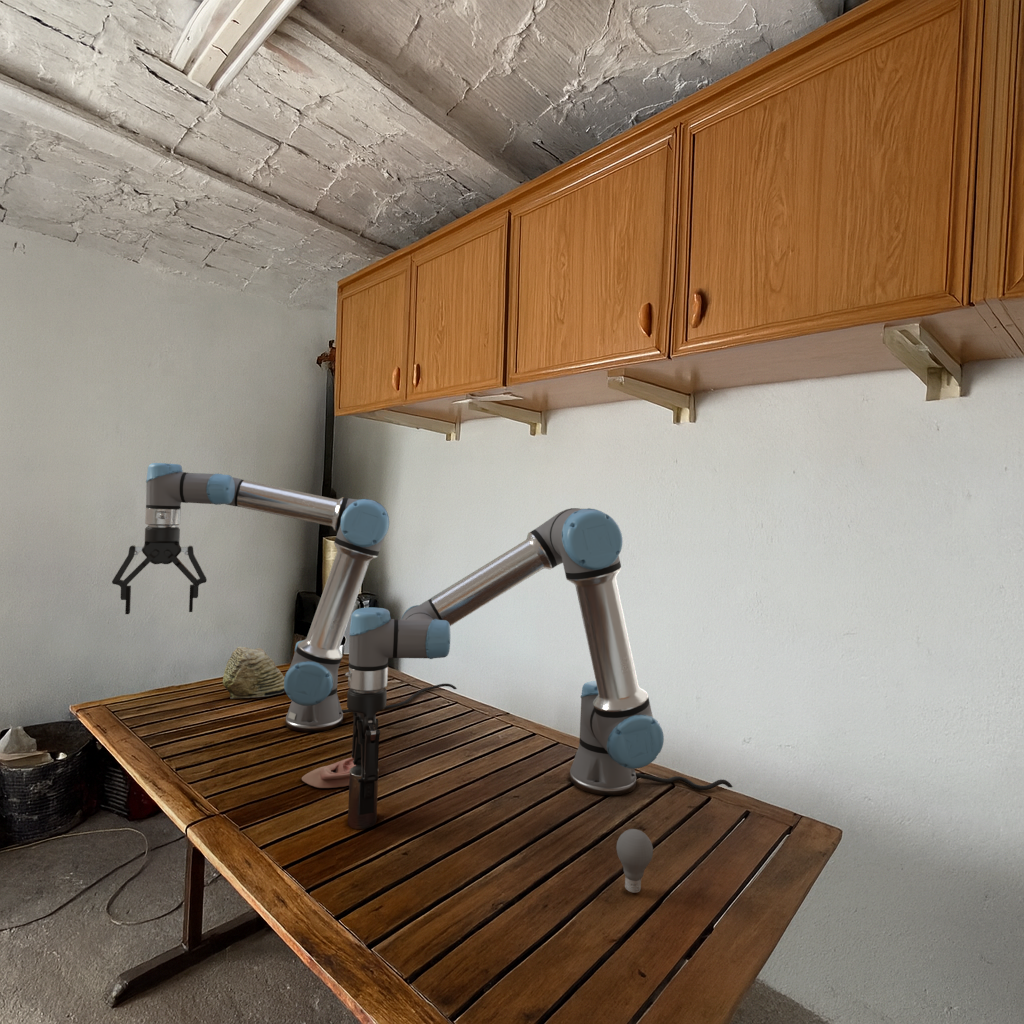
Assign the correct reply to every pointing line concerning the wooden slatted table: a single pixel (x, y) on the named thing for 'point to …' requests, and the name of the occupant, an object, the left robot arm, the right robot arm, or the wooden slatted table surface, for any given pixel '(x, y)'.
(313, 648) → the left robot arm
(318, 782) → the anatomical model
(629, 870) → the light bulb
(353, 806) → the can
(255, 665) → the fossil
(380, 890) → the wooden slatted table surface
